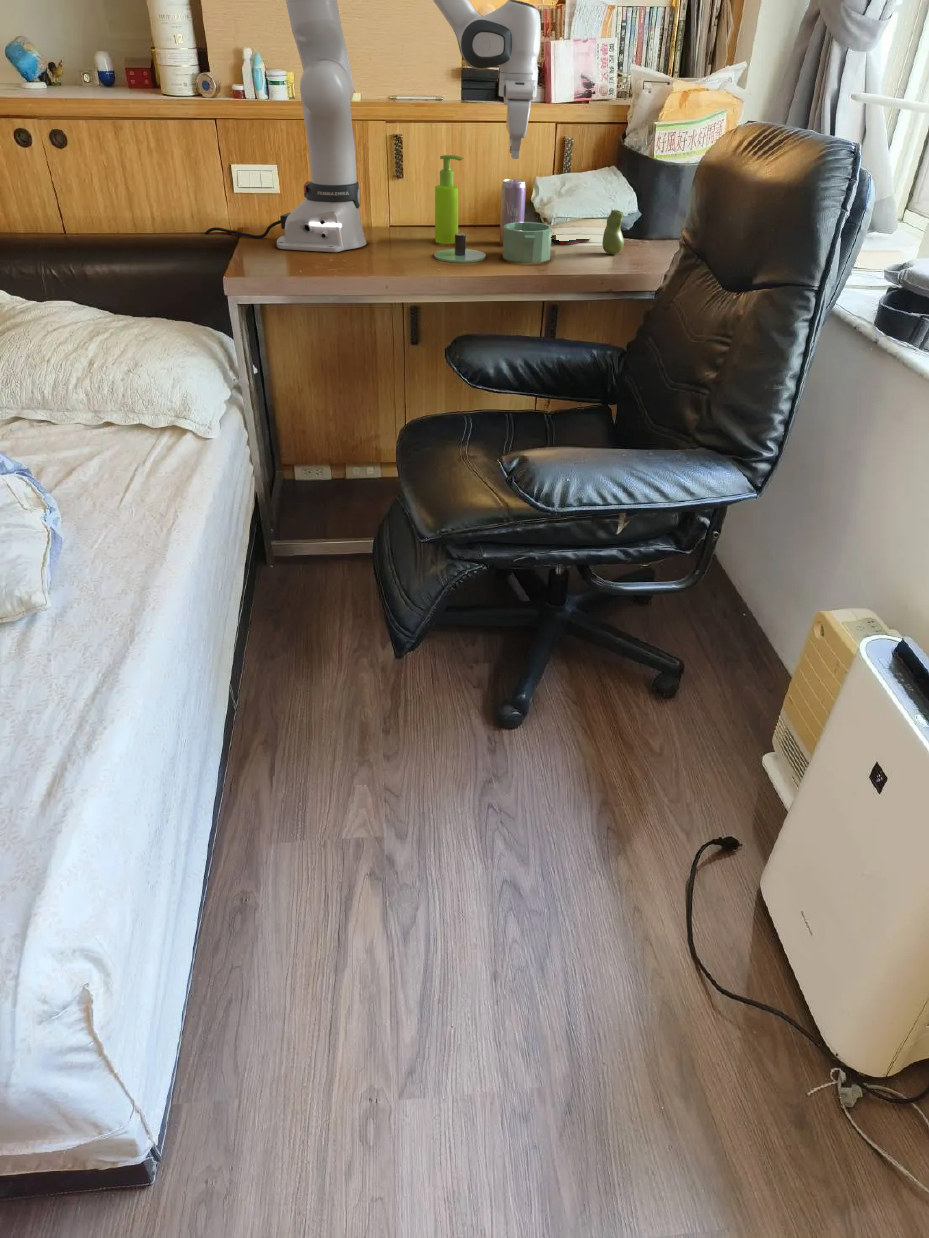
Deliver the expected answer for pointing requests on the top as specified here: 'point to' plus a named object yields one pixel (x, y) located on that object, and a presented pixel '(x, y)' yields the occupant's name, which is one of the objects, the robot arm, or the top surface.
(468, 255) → the pot lid
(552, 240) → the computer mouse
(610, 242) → the pear
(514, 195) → the beverage can
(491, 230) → the top surface
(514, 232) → the pot
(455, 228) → the soap dispenser
